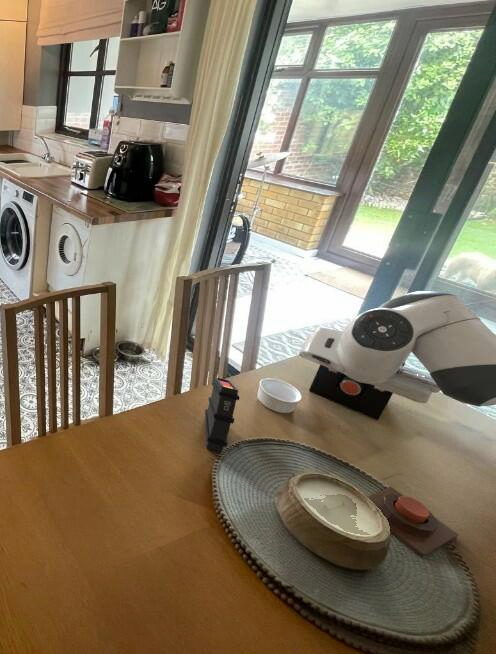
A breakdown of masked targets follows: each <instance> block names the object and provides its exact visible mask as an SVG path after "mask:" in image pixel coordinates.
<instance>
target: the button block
mask: <svg viewBox="0 0 496 654" xmlns="http://www.w3.org/2000/svg"><path fill="white" fill-rule="evenodd" d="M401 496H405V495H404V494H403V493H401V492H400V491H398V490H396V489H395V488H394V487H392V486H389V487H386V488H384V489H381V490H380V491H378V492H375V493H373V494H372V495H370V496H367V497H368V498H369V499H370V500H371V501H372V502H373V503H374V504H375V505H376V506H377V507H378V508H379V509H380V510H381V512H382V513H383V515H384V516H385V517H386V518H387V520H388V522H389V526H390V532H391V534H390V535H391V536H392V537H394V538H395V539H396V540H398V541H399V542H400V543H401V544H402V545H404V546H405V547H407V548H408V549H409V550H410V551H411V552H413V553H414V554H415V555H416V556H418V557H419V558H420V559H423V558H426V556H428V555H430V554H432V553H434V552H435V551H437V550H438V549H440V548H442V547H444V546H446V545H447V544H449V543H451V542H453V541H454V540H456V539H457V537H458V536H459V533H457V532H456V531H454V530H453V529H451V528H450V527H449V526H448V525H446V524H444V523H443V522H442V521H441V520H438V518H437V517H435V516H434V514H433V513H432V512H431V511H430V510H429V509H428V511H429V513H430V515H429V517H428V518H427V519H426V521H425V522H424V523H415V522H413V521H411V520H409V519H407V518H406V517H404V516H403V515H402V514H400V513H399V512H398V511H397V510H396V508H395V503H396V502H397V500H398V499H399V497H401Z"/></svg>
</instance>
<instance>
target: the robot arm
mask: <svg viewBox="0 0 496 654" xmlns="http://www.w3.org/2000/svg"><path fill="white" fill-rule="evenodd" d="M411 353H412V354H413V355H414V357H415V358H416V359H417V360H418V361H419V363H420V364H421V365H422V366H423V367H424V368H425V370H426V371H428V373H429V374H427V373H424V372H421V371H418V370H416V369H413V368H410V367H408V366H405V365H404V366H402V364H403V363H404V362H405V363H406V361H407V360H408V359H409V358H410V355H411ZM298 356H299V357H301V358H302V359H304V360H307V361H310V362H312V363H314V364H316V365H317V364H318V365H319V366H320V365H323V366H325V367H327V368H329V371H331V372H334V373H337V372H341V373H343V374H345V375H346V376H348V377H349V378H351V379H353V380H356V381H358V382H362V383H367V384H371V385H374V386H375V387H374V388H375V389H377V390H380V391H382V392H383V391H384V390H385V391H389V392H392V393H393V394H395V395H397V396H399V397H403V398H405V399H407V400H410V401H412V402H414V403H415V402H416V403H418V404H427V403H428V402H429V400H430V397H431V396H432V393H435V394H437V393H439V392H441V394H443V395H444V396H446V397H449V398H451V399H453V400H455V401H458V402H461V403H463V404H466V405H470V406H473V407H478V408H479V407H489V406H496V334H495V333H494V332H493V331H492V330H491V329H490V328H489V327H488V326H487V325H486V324H485V323H484V322H483V321H482V319H481V318H480V317H479V316H478V315H477V314H476V313H475V312H474V311H473V310H472V309H471V308H469V306H468V305H466V304H465V303H464V302H463V300H461V299H460V298H459V297H458V296H457V295H455V294H452V293H448V292H447V293H446V292H443V291H434V290H433V291H429V290H418V291H414V292H410V293H406V294H403V295H400V296H396V297H394V298H391V299H390V300H388V301H386V302H384V303H381V305H379V306H378V307H377V308H372V309H369V310H366V311H363V312H361V313H360V314H358V315H356V316H355V317H354V318H352V319H351V320H350V322H348V324H347V325H346V327H345V328H344V329H343V330H341V329H336V328H332V327H327V326H318V327H317V328H316V329H315V331H314V332H312V333H310V334H309V335H308V336H307V337H306V338H305V339H304V342H303V344H302V345H301V347H300V350H299V352H298Z"/></svg>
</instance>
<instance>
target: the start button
mask: <svg viewBox="0 0 496 654" xmlns="http://www.w3.org/2000/svg"><path fill="white" fill-rule="evenodd" d="M395 508H396V510H397V511H398V512H399V513H400V514H402V515H403V516H404V517H406V518H407V519H409V520H411V521H413V522H415V523H424V522H425V521H426V519H427V518H428V517H429V515H430V513H429V511H430V510H429V509H428V508H427V507H426V505H424V504H423V503H422V502H420V501H419V500H417V499H415V498H413V497H410V496H407V495H406V496H405V495H404V496H401V497H399V499H398V500H397V502H396V503H395ZM428 510H429V511H428Z"/></svg>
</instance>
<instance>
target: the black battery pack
mask: <svg viewBox="0 0 496 654" xmlns="http://www.w3.org/2000/svg"><path fill="white" fill-rule="evenodd" d="M211 386H212V390H211V391H212V392H211V395H210V397H208V407H207V408H205V410H204V418H205V421H204V422H205V449H206V450H208V451H211V452H215V453H218V454H222V453H223V450H224V447H225V448H227V447H228V435H229V432H230V427H231V424H234V423H235V418H234V412H235V408H236V403H237V401H240V396H239V389H238V388H237V387H236V386H235V385H234V384H233V382H232V381H231V380H229V379H224V378H220V377H216V376H215V377H214V381H211Z"/></svg>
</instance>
